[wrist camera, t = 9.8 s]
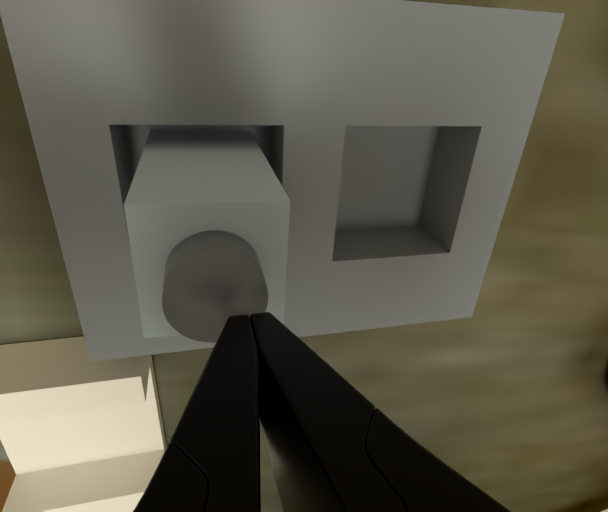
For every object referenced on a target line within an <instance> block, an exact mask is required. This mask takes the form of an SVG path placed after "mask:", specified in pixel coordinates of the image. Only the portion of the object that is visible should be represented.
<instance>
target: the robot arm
mask: <svg viewBox="0 0 608 512" xmlns="http://www.w3.org/2000/svg"><path fill="white" fill-rule="evenodd" d="M260 424H261V428H262V432H263V436H264V440H265V444H266V447H267V451H268V455H269V459H270V462H271V466H272V470H273V473H274V477H275V481H276V485H277V488H278V492H279V496H280V499H281V503H282V507H283V511H284V512H511V511H509V510H508V509H507V508H505V507H504V506H503V505H501V504H500V503H498V502H497V501H496V500H494V499H493V498H492V497H490V496H489V495H488V494H486V493H485V492H483V491H482V490H481V489H479V488H478V487H477V486H475V485H474V484H472V483H471V482H470V481H468V480H467V479H466V478H464V477H463V476H461V475H460V474H459V473H457V472H456V471H455V470H453V469H452V468H450V467H449V466H448V465H446V464H445V463H444V462H442V461H441V460H440V459H438V458H437V457H436V456H434V455H433V454H432V453H431V452H429V451H428V450H427V449H425V448H424V447H423V446H421V445H420V444H419V443H417V442H416V441H415V440H414V439H412V438H411V437H410V436H409V435H408V434H407V433H405V432H404V431H403V430H402V429H401V428H399V427H398V426H397V425H396V424H395V423H394V422H392V421H391V420H390V419H389V418H388V417H387V416H386V415H385V414H383V413H382V412H381V411H380V410H379V409H377V408H376V409H375V406H374V405H373V404H372V403H371V402H370V401H369V400H367V399H366V398H365V397H364V396H363V395H362V394H361V393H360V392H359V391H357V390H356V389H355V388H354V387H353V386H352V385H351V384H350V383H348V382H347V381H346V380H345V379H344V378H343V377H342V376H341V375H340V374H338V373H337V372H336V371H335V370H334V369H333V368H332V367H331V366H329V365H328V364H327V363H326V362H325V361H324V360H323V359H322V358H320V357H319V356H318V355H317V354H316V353H315V352H314V351H313V350H312V349H310V348H309V347H308V346H307V345H306V344H305V343H304V342H303V341H301V340H300V339H299V338H298V337H297V336H296V335H295V334H294V333H293V332H291V331H290V330H289V329H288V328H287V327H286V326H285V325H284V324H282V323H281V322H280V321H279V320H278V319H277V318H276V317H275V316H273V315H272V314H271V313H269V312H262V313H253V314H251V315H250V317H249V315H247V314H243V315H233V316H230V317H228V319H227V321H226V323H225V325H224V327H223V329H222V331H221V334H220V336H219V338H218V340H217V342H216V344H215V346H214V348H213V351H212V353H211V355H210V357H209V359H208V361H207V363H206V365H205V367H204V370H203V372H202V374H201V376H200V378H199V380H198V382H197V384H196V387H195V389H194V391H193V393H192V395H191V397H190V399H189V401H188V404H187V406H186V408H185V410H184V412H183V414H182V416H181V418H180V420H179V423H178V425H177V427H176V429H175V431H174V433H173V435H172V437H171V440H170V443H169V444H168V445H167V448H166V450H165V452H164V454H163V456H162V458H161V460H160V462H159V464H158V466H157V468H156V470H155V472H154V474H153V476H152V478H151V480H150V482H149V484H148V486H147V488H146V490H145V492H144V494H143V495H142V497H141V499H140V500H139V502H138V504H137V506H136V507H135V509H134V511H133V512H261V503H260Z"/></svg>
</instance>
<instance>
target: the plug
mask: <svg viewBox="0 0 608 512" xmlns="http://www.w3.org/2000/svg"><path fill="white" fill-rule="evenodd" d="M124 210H125V217H126V224H127V230H128V237H129V243H130V250H131V257H132V263H133V270H134V276H135V283H136V290H137V296H138V303H139V309H140V316H141V322H142V329H143V336H144V338H153V337H163V336H173V335H183V336H185V337H187V338H190V339H192V340H196V341H200V342H209V343H214V342H217V340H218V338H219V336H220V334H221V331H222V329H223V327H224V325H225V323H226V321H227V319H228V317H230V316H233V315H243V314H247V315H249V317H250V315H251V314H253V313H262V312H269V313H271V314H272V315H273V316H275V317H276V318H277V319H278V320H279V321H280V322H281V323H282V324H284V310H285V291H286V272H287V254H288V235H289V216H290V200H289V198H288V196H287V194H286V193H285V191H284V189H283V187H282V185H281V184H280V182H279V180H278V178H277V177H276V175H275V173H274V171H273V170H272V168H271V166H270V164H269V163H268V161H267V159H266V157H265V155H264V154H263V152H262V150H261V148H260V147H259V145H258V143H257V141H256V140H255V138H254V136H253V134H252V133H251V132H248V131H183V130H150V133H149V136H148V138H147V141H146V144H145V147H144V150H143V153H142V155H141V158H140V161H139V164H138V167H137V169H136V172H135V175H134V178H133V181H132V183H131V186H130V189H129V192H128V195H127V197H126V200H125V203H124Z"/></svg>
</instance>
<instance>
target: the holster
mask: <svg viewBox="0 0 608 512" xmlns="http://www.w3.org/2000/svg"><path fill="white" fill-rule="evenodd" d="M0 440H1V442H2V444H3V446H4V448H5V451H6V453H7V455H8V457H9V459H10V462H11V464H12V466H13V468H14V470H15V473H16V477H15V479H14V482H13V485H12V487H11V490H10V492H9V495H8V498H7V500H6V503H5V506H4V508H3V511H2V512H133V511H134V509H135V507H136V506H137V504H138V502H139V500H140V499H141V497H142V495H143V494H144V492H145V490H146V488H147V486H148V484H149V482H150V480H151V478H152V476H153V474H154V472H155V470H156V468H157V466H158V464H159V462H160V460H161V458H162V456H163V454H164V452H165V450H166V441H165V435H164V429H163V423H162V417H161V411H160V405H159V399H158V393H157V387H156V381H155V375H154V368H153V362H152V356H151V355H145V356H136V357H128V358H119V359H111V360H102V361H94V362H90V358H89V354H88V350H87V346H86V342H85V339H84V336H82V337H72V338H62V339H53V340H43V341H33V342H24V343H14V344H4V345H0Z"/></svg>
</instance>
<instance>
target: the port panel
mask: <svg viewBox="0 0 608 512" xmlns="http://www.w3.org/2000/svg"><path fill="white" fill-rule="evenodd" d="M0 15H1V19H2V23H3V27H4V31H5V35H6V38H7V42H8V46H9V50H10V54H11V58H12V61H13V65H14V69H15V73H16V77H17V81H18V85H19V88H20V92H21V96H22V100H23V104H24V108H25V111H26V115H27V119H28V123H29V127H30V131H31V135H32V138H33V142H34V146H35V150H36V154H37V158H38V162H39V165H40V169H41V173H42V177H43V181H44V185H45V188H46V192H47V196H48V200H49V204H50V208H51V212H52V215H53V219H54V223H55V227H56V231H57V235H58V238H59V242H60V246H61V250H62V254H63V258H64V262H65V265H66V269H67V273H68V277H69V281H70V285H71V288H72V292H73V296H74V300H75V304H76V308H77V312H78V315H79V319H80V323H81V327H82V331H83V335H84V339H85V342H86V346H87V350H88V354H89V358H90V362H94V361H102V360H111V359H119V358H128V357H136V356H145V355H153V354H162V353H170V352H179V351H187V350H196V349H204V348H213V347H214V346H215V344H216V342H214V343H209V342H200V341H196V340H192V339H190V338H187V337H185V336H183V335H173V336H163V337H153V338H144V336H143V329H142V322H141V316H140V309H139V303H138V296H137V290H136V283H135V276H134V270H133V263H132V257H131V250H130V243H129V237H128V230H127V224H126V217H125V210H124V203H125V200H126V197H127V195H128V192H129V189H130V186H131V183H132V181H133V178H134V175H135V172H136V169H137V167H138V164H139V161H140V158H141V155H142V153H143V150H144V147H145V144H146V141H147V138H148V136H149V133H150V130H183V131H248V132H251V133H252V134H253V136H254V138H255V140H256V141H257V143H258V145H259V147H260V148H261V150H262V152H263V154H264V155H265V157H266V159H267V161H268V163H269V164H270V166H271V168H272V170H273V171H274V173H275V175H276V177H277V178H278V180H279V182H280V184H281V185H282V187H283V189H284V191H285V193H286V194H287V196H288V198H289V200H290V216H289V235H288V254H287V272H286V291H285V310H284V325H285V326H286V327H287V328H288V329H289V330H290V331H291V332H293V333H294V334H295V335H296V336H297V337H307V336H315V335H324V334H332V333H341V332H349V331H358V330H366V329H375V328H383V327H392V326H400V325H409V324H418V323H426V322H435V321H443V320H452V319H460V318H469V317H472V315H473V311H474V308H475V305H476V302H477V298H478V295H479V292H480V289H481V286H482V282H483V279H484V276H485V273H486V269H487V266H488V263H489V260H490V256H491V253H492V250H493V247H494V243H495V240H496V237H497V234H498V230H499V227H500V224H501V221H502V217H503V214H504V211H505V208H506V204H507V201H508V198H509V195H510V191H511V188H512V185H513V182H514V178H515V175H516V172H517V169H518V165H519V162H520V159H521V156H522V152H523V149H524V146H525V143H526V139H527V136H528V133H529V130H530V126H531V123H532V120H533V117H534V113H535V110H536V107H537V104H538V100H539V97H540V94H541V91H542V87H543V84H544V81H545V78H546V74H547V71H548V68H549V65H550V61H551V58H552V55H553V52H554V48H555V45H556V42H557V39H558V35H559V32H560V29H561V26H562V22H563V19H564V16H565V14H564V13H552V12H540V11H527V10H515V9H503V8H491V7H478V6H466V5H454V4H441V3H429V2H417V1H404V0H0Z"/></svg>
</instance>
